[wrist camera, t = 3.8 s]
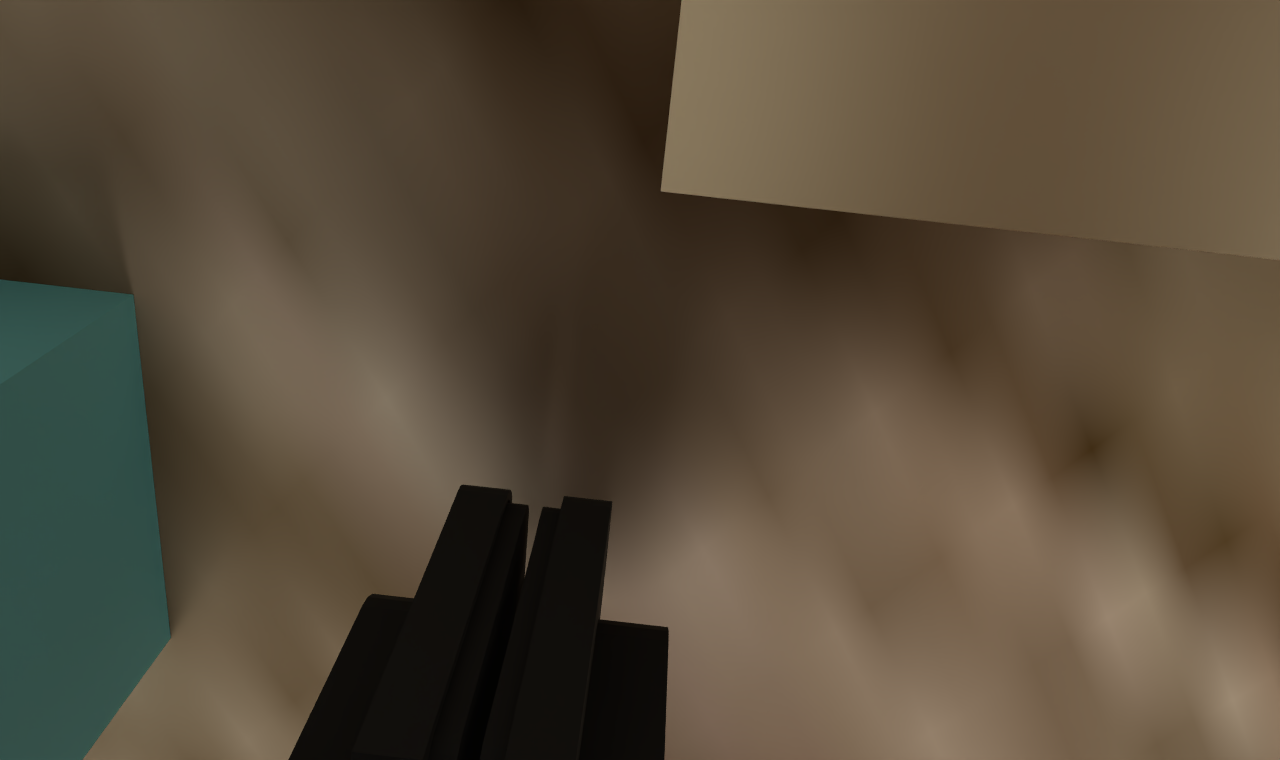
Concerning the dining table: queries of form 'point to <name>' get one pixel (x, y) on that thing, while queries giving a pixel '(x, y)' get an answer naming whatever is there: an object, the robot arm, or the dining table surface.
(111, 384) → the teal block
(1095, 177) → the maple block
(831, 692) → the dining table surface
